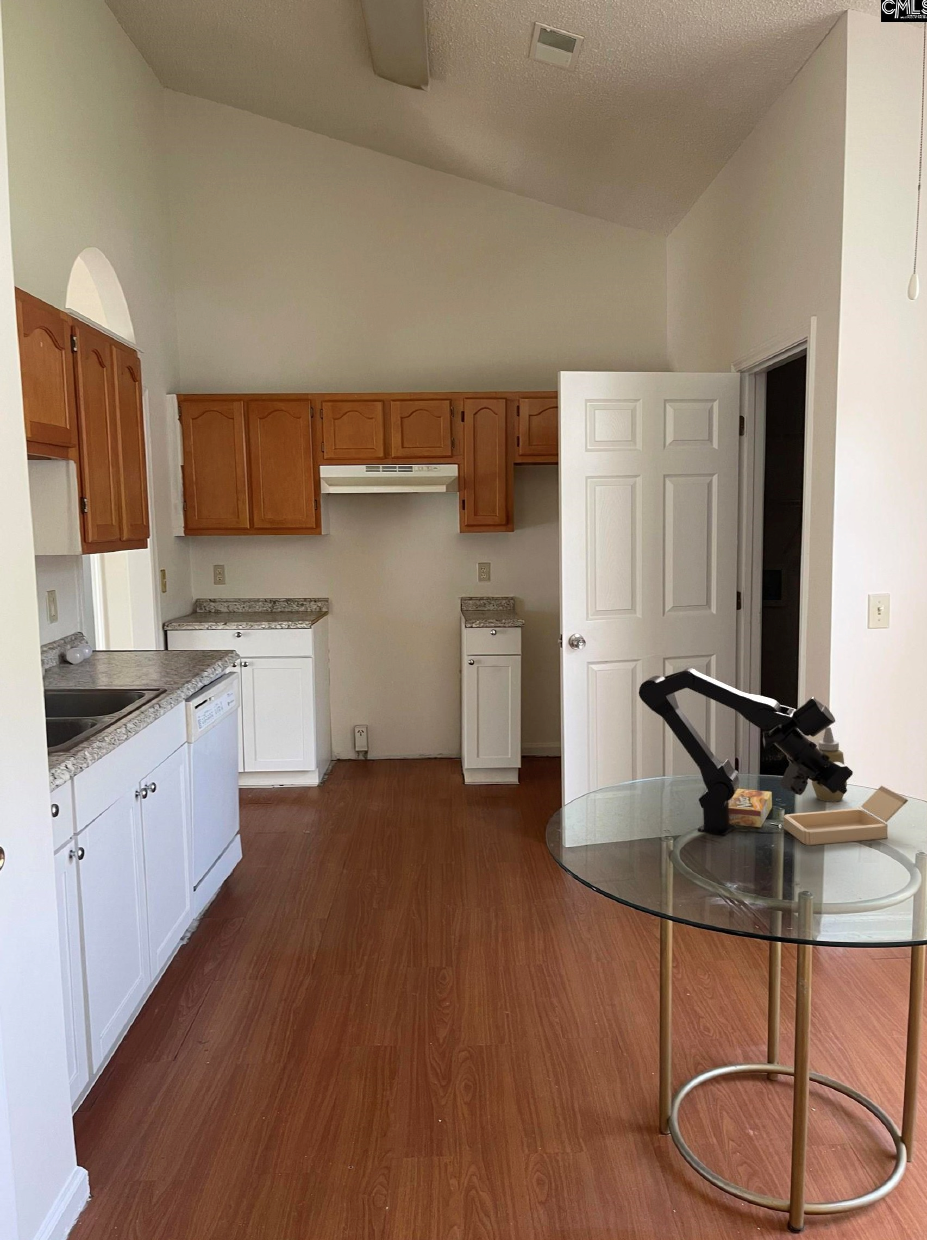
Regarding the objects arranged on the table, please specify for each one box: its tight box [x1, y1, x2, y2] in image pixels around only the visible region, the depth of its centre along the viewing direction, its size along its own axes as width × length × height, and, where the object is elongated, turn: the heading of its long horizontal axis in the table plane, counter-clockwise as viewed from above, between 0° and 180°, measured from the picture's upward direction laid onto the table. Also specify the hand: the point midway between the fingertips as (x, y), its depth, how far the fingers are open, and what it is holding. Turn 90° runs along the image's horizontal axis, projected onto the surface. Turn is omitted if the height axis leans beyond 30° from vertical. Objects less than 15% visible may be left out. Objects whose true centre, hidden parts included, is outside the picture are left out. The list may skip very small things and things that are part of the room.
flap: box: [860, 785, 909, 823], centre depth 194 cm, size 1×10×7 cm
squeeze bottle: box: [811, 726, 848, 802], centre depth 215 cm, size 8×8×18 cm
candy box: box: [728, 788, 773, 828], centre depth 208 cm, size 9×4×15 cm
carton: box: [782, 808, 888, 846], centre depth 193 cm, size 18×12×3 cm, turn 94°
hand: (845, 792), depth 193 cm, fingers closed
